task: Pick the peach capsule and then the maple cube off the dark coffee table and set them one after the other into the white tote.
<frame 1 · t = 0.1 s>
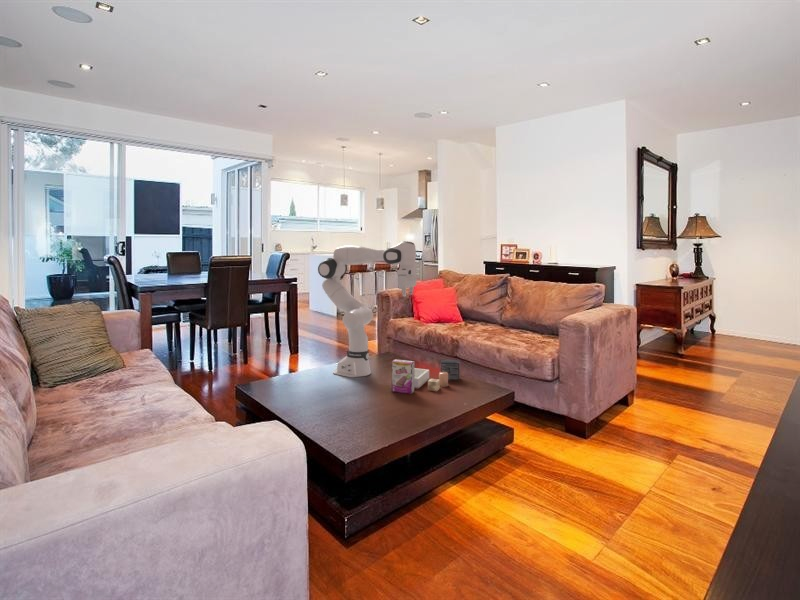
hand: (407, 295, 251), 48 cm above the table, fingers open, 8 cm apart
white tote: (411, 382, 252), on the table
small box: (449, 379, 258), on the table
peach capsule: (443, 385, 246), on the table
candy bar box: (402, 392, 235), on the table
maple cube: (433, 389, 240), on the table
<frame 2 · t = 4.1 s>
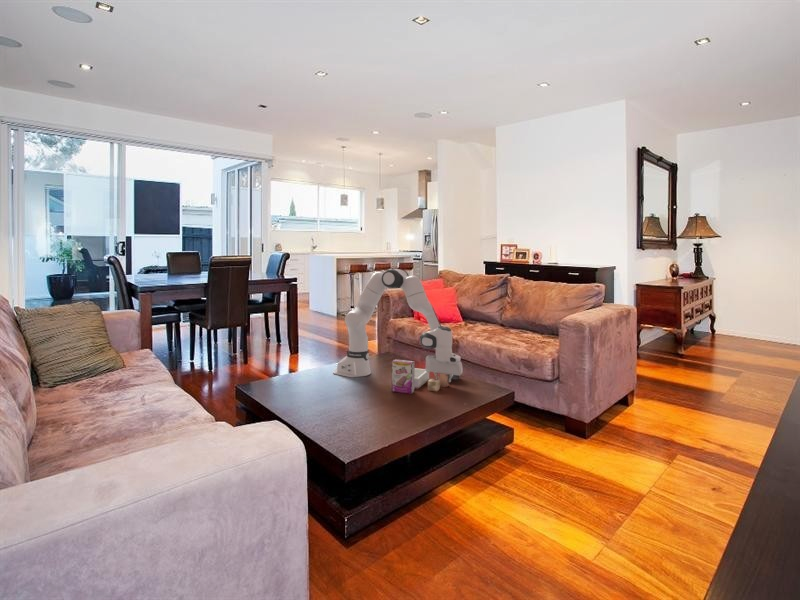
hand: (443, 381, 246), 2 cm above the table, fingers closed on peach capsule, 5 cm apart
peach capsule: (443, 385, 246), on the table, touching gripper
everything else where it was.
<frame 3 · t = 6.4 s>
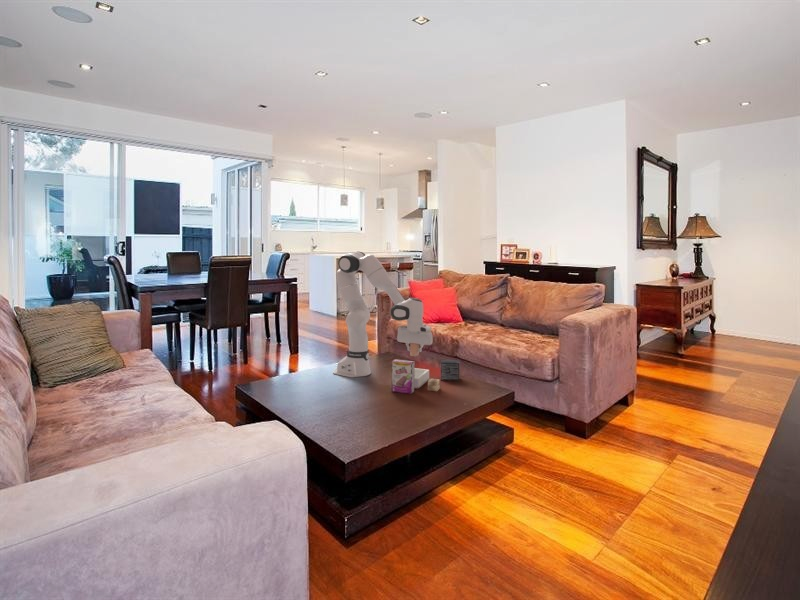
hand: (414, 351, 254), 17 cm above the table, fingers closed on peach capsule, 5 cm apart
peach capsule: (414, 355, 254), point 14 cm above the table, touching gripper
everything else where it was.
when the fingers open (5 cm above the table, at t = 9.2 s): peach capsule drops 1 cm, resting on white tote.
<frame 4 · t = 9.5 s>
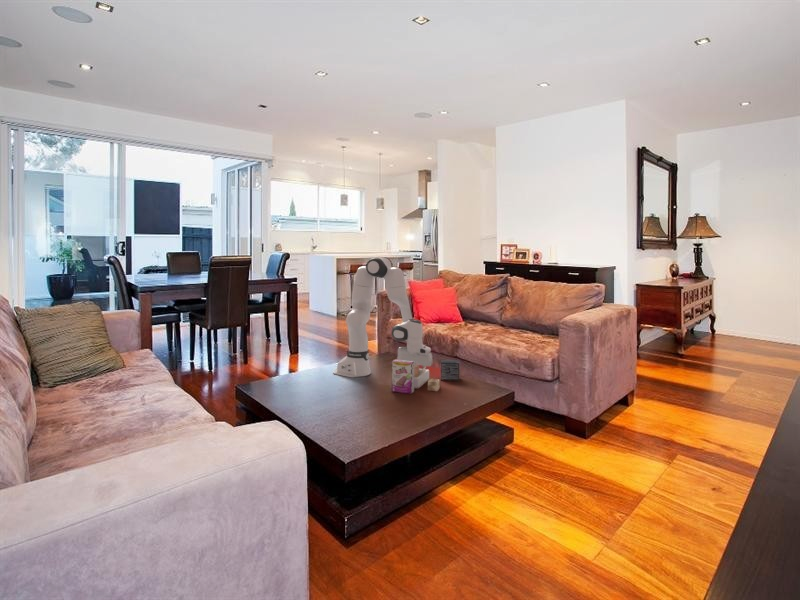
hand: (414, 372, 255), 5 cm above the table, fingers open, 8 cm apart
peach capsule: (414, 378, 256), point 1 cm above the table, touching white tote
everything else where it was.
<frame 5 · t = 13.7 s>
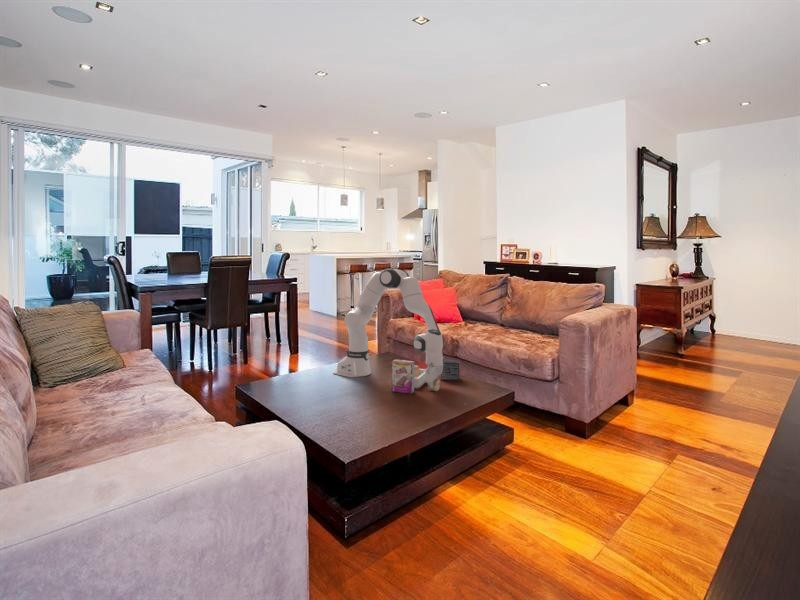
hand: (433, 386, 239), 2 cm above the table, fingers closed on maple cube, 5 cm apart
maple cube: (433, 389, 240), on the table, touching gripper
everything else where it was.
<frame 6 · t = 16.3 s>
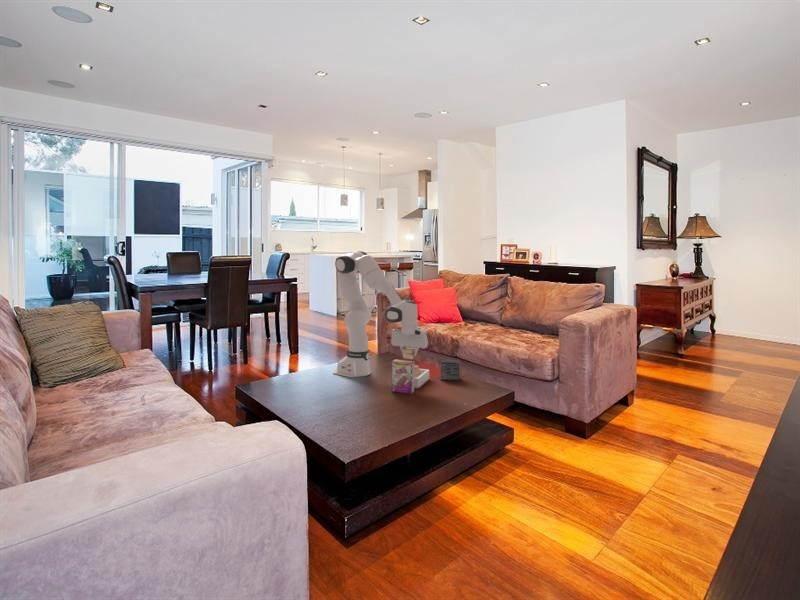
hand: (409, 354, 245), 17 cm above the table, fingers closed on maple cube, 5 cm apart
maple cube: (409, 357, 246), point 15 cm above the table, touching gripper
everything else where it was.
when the fingers open (4 cm above the table, at t = 18.9 s): maple cube drops 1 cm, resting on white tote.
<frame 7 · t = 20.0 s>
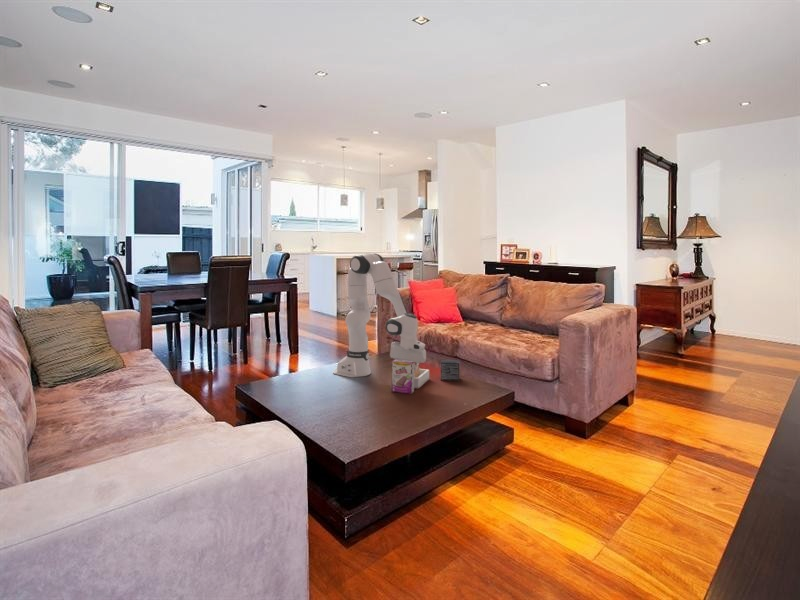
hand: (407, 368, 247), 9 cm above the table, fingers open, 8 cm apart
maple cube: (408, 383, 247), point 1 cm above the table, touching white tote
everything else where it was.
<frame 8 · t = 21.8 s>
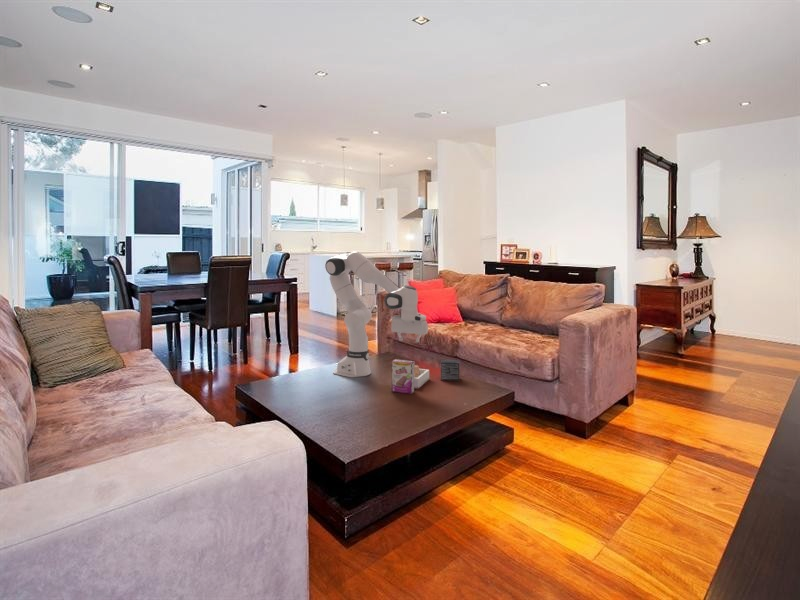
hand: (409, 341, 244), 24 cm above the table, fingers open, 8 cm apart
nothing on the table moved.
at the end: peach capsule inside the target area on the white tote (4.5 cm from its centre), point 0.9 cm above the white tote's base; maple cube inside the target area on the white tote (4.5 cm from its centre), point 0.8 cm above the white tote's base; the gripper is holding nothing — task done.
